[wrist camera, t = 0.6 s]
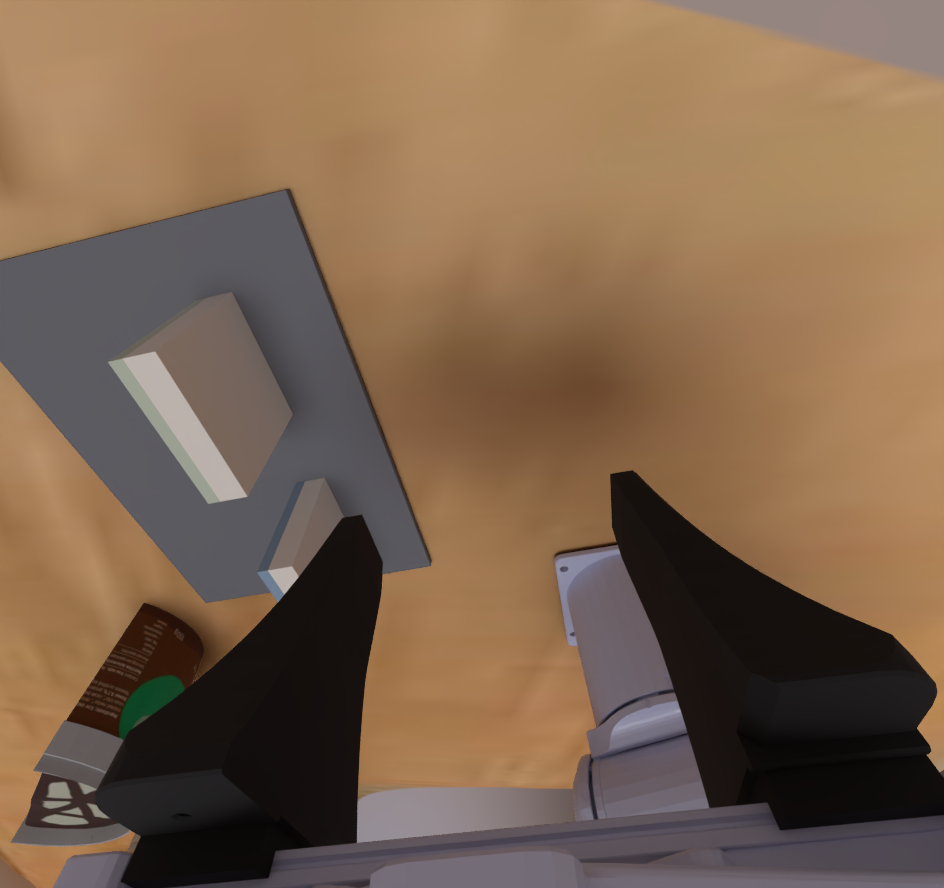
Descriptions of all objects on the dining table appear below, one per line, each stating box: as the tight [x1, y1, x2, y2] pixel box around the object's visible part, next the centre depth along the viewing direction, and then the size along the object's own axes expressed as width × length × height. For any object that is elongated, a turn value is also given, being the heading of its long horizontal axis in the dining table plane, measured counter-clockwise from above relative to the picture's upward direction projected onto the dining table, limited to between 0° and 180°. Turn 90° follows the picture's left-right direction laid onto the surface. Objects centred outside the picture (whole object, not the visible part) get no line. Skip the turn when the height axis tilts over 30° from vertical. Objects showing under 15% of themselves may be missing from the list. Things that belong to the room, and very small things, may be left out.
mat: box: [0, 189, 431, 603], centre depth 24 cm, size 21×15×1 cm
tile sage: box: [108, 292, 293, 504], centre depth 19 cm, size 6×2×6 cm, turn 12°
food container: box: [11, 603, 203, 846], centre depth 30 cm, size 12×6×10 cm, turn 147°
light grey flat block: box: [257, 478, 344, 602], centre depth 24 cm, size 6×2×6 cm, turn 12°
